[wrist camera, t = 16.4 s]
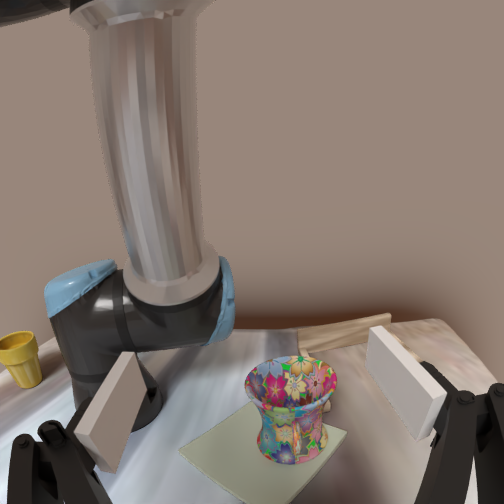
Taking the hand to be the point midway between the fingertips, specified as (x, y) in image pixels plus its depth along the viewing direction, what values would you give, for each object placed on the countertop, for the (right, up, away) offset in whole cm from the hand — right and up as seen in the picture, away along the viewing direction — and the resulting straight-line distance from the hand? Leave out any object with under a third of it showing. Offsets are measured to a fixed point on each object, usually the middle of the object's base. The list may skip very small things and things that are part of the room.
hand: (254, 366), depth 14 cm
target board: (+1, -18, +14) cm, 23 cm away
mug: (+5, -17, +13) cm, 22 cm away
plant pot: (-46, -21, +26) cm, 57 cm away
